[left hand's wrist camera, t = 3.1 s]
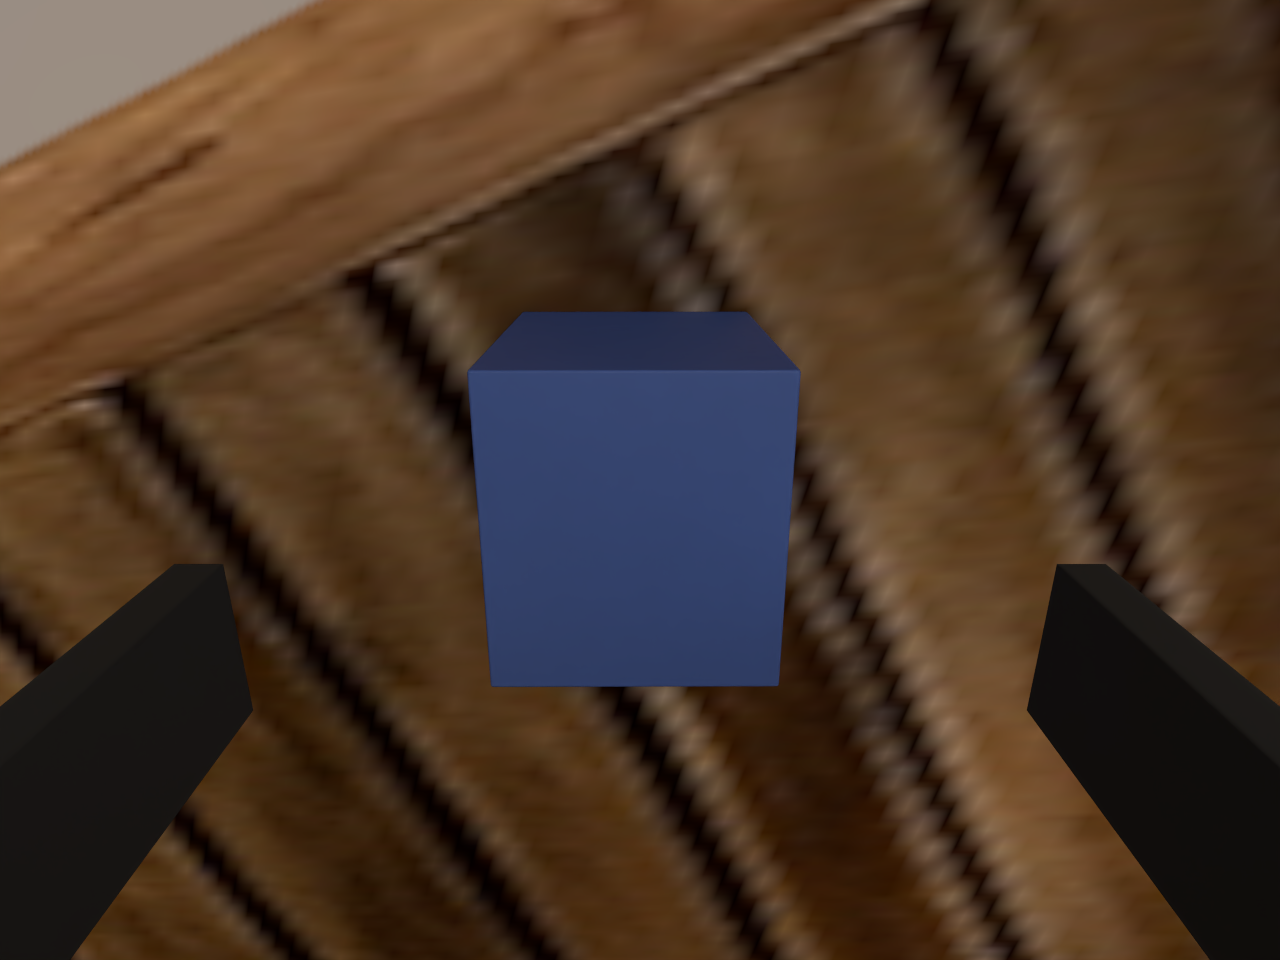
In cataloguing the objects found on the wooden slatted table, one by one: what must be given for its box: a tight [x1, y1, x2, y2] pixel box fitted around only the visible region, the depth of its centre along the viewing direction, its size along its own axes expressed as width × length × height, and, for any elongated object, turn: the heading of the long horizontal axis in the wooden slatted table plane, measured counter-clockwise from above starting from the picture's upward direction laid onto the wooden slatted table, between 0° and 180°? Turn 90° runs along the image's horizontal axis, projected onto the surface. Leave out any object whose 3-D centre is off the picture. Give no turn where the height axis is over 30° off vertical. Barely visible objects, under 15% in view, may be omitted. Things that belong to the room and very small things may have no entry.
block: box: [467, 312, 801, 687], centre depth 21 cm, size 7×7×8 cm
